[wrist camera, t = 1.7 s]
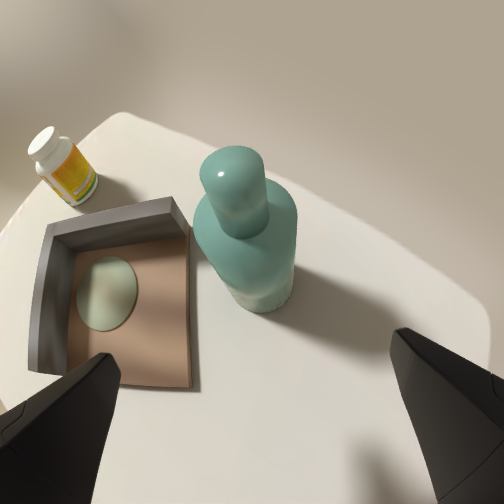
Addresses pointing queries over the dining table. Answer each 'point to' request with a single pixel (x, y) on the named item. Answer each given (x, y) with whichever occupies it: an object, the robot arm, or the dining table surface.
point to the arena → (115, 294)
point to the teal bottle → (247, 228)
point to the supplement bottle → (63, 166)
